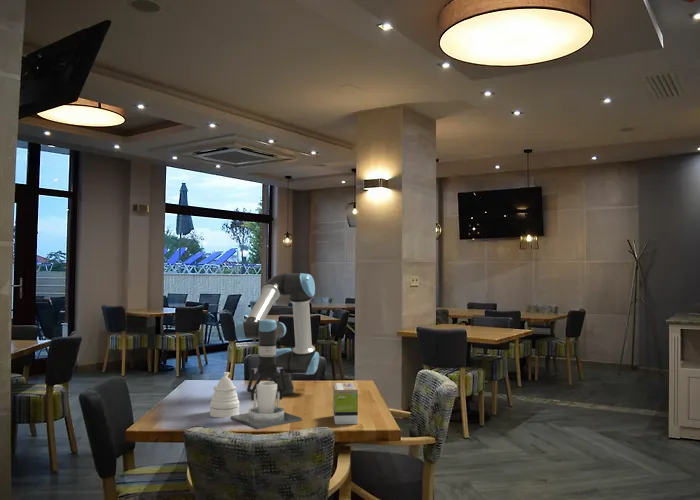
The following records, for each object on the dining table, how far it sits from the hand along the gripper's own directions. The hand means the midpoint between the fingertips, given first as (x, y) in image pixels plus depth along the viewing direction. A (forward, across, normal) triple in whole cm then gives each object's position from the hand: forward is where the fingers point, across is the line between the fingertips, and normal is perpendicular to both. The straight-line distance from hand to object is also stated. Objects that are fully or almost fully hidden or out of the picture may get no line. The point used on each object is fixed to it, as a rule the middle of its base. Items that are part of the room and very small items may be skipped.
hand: (266, 407), depth 246 cm
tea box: (+5, +34, -6) cm, 34 cm away
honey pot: (+5, -18, +13) cm, 23 cm away
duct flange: (+5, 0, 0) cm, 5 cm away
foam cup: (+3, 0, 0) cm, 3 cm away
